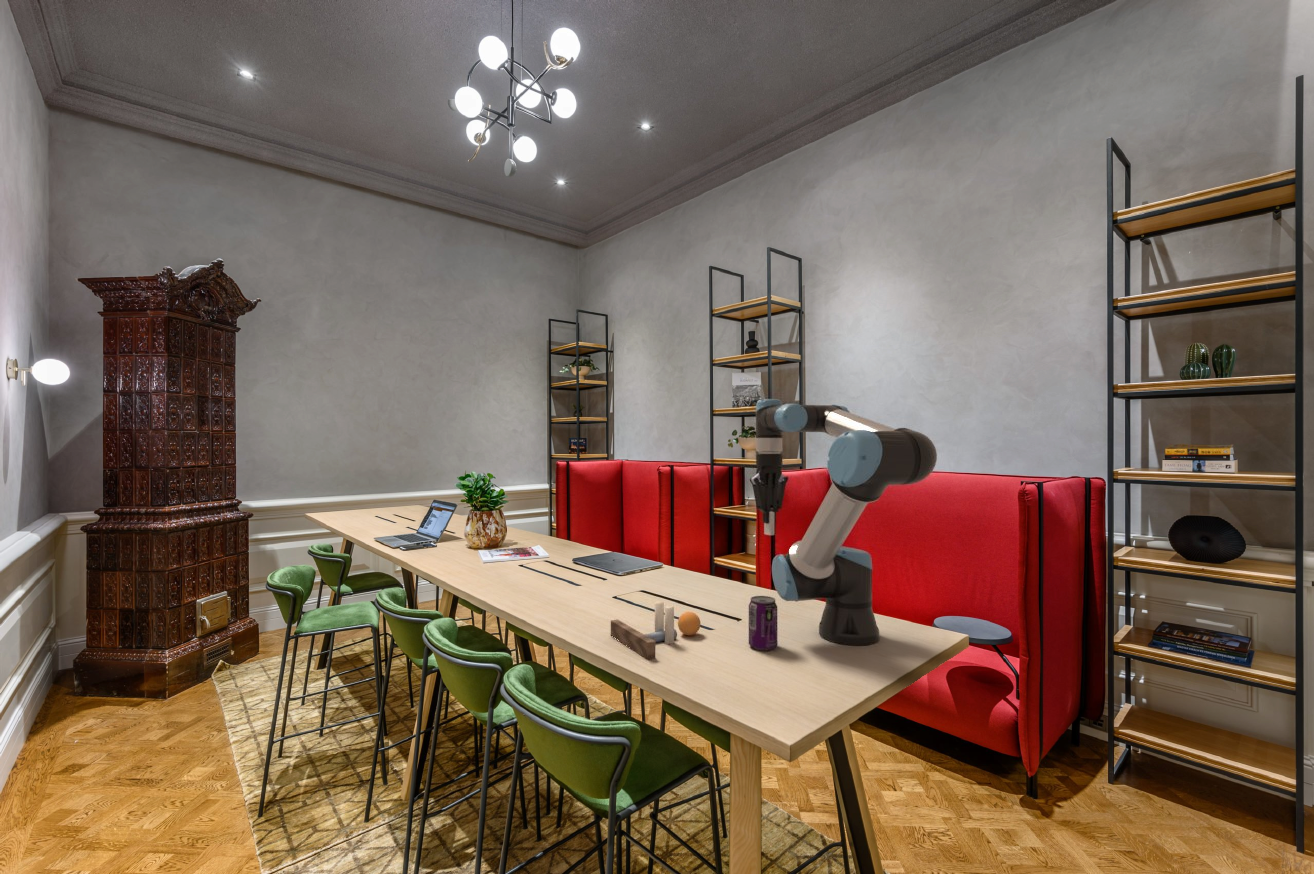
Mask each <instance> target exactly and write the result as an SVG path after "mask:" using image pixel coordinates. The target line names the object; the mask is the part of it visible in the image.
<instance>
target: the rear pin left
mask: <svg viewBox="0 0 1314 874" xmlns="http://www.w3.org/2000/svg"><path fill="white" fill-rule="evenodd" d="M674 629H675V606H671V605H666V606H664V631H665V641H664V644H666V645H673V644H674V643H675V639H674Z"/></svg>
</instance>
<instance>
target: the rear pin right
mask: <svg viewBox="0 0 1314 874" xmlns="http://www.w3.org/2000/svg"><path fill="white" fill-rule="evenodd" d="M660 631H665V602H664V601H655V602H654V633H655V632H660Z"/></svg>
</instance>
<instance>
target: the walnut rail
mask: <svg viewBox="0 0 1314 874" xmlns="http://www.w3.org/2000/svg"><path fill="white" fill-rule="evenodd" d="M611 635H612V636H614V637H615V638H616V639H615V638H614V639H615V640H617V639H618V640H619V641H618V640H617V641H618V642H619V643H621V642H622V643H621V644H623V643H624V644H625V646H626V645H627V646H628V648H629V647H630V648H629V649H631V650H632V649H633V650H632V651H634V652H635V651H636V652H635V653H637V654H638V653H639V655H640V656H641V655H642V657H643V658H644V657H645V660H648V661H650V660H653V659H656V642H655V641H654V640H652V639H651V638H649V637H647V636H645V635H644V634H643V633H642V632H640V631H639V630H637V629H635V628H633V627H631V626H630V625H628V624H626V623H624V622H623V621H621V620H620V619H616V618H615V619H612V620H610V636H611ZM612 636H611V637H612ZM624 644H623V645H624ZM627 646H626V647H627Z"/></svg>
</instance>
